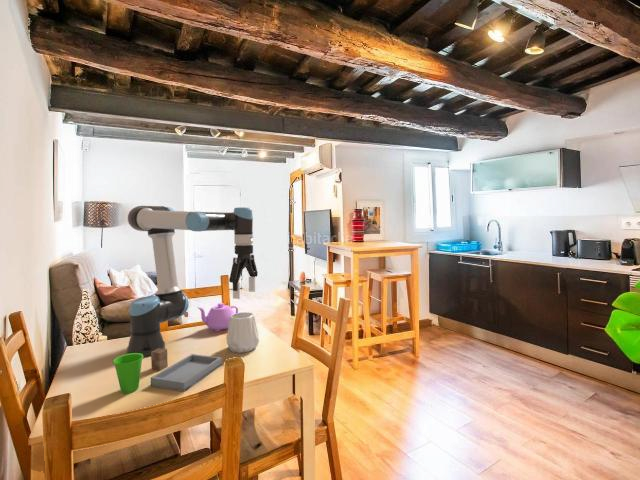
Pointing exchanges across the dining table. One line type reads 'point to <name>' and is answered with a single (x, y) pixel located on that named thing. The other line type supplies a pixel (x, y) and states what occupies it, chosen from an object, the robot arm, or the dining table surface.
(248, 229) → the robot arm
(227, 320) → the teapot
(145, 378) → the dining table surface
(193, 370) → the tray
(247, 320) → the vase
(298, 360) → the dining table surface
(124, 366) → the cup
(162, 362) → the walnut block
